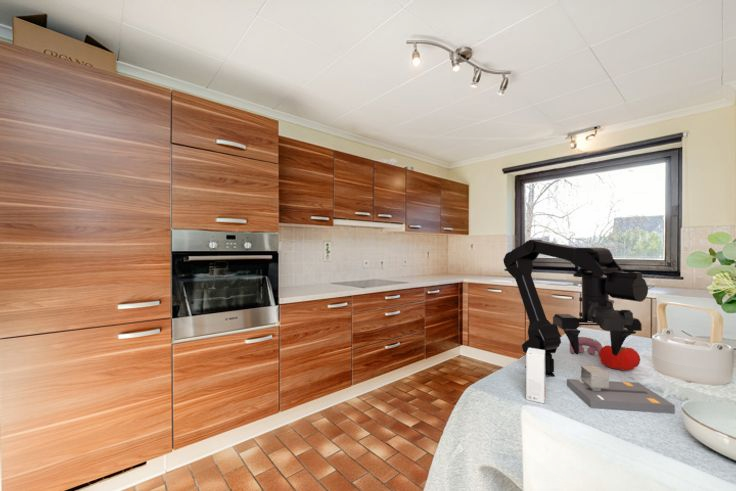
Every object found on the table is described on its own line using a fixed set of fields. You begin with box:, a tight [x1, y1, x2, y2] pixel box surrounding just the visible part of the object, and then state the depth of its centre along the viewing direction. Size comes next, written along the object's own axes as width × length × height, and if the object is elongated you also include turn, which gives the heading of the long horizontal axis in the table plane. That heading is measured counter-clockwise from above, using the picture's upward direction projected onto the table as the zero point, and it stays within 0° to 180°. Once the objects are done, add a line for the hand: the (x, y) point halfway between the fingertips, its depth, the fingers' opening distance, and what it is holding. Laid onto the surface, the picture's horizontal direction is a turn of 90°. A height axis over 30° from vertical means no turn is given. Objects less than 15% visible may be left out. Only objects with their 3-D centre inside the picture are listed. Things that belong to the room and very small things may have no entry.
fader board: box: [566, 378, 676, 415], centre depth 80 cm, size 18×12×2 cm, turn 81°
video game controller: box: [569, 336, 603, 358], centre depth 113 cm, size 10×5×7 cm, turn 58°
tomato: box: [598, 344, 641, 371], centre depth 100 cm, size 10×11×7 cm
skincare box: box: [525, 348, 546, 404], centre depth 81 cm, size 6×4×12 cm
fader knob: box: [580, 365, 610, 391], centre depth 81 cm, size 4×5×5 cm
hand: (595, 354), depth 81 cm, fingers open, 9 cm apart
